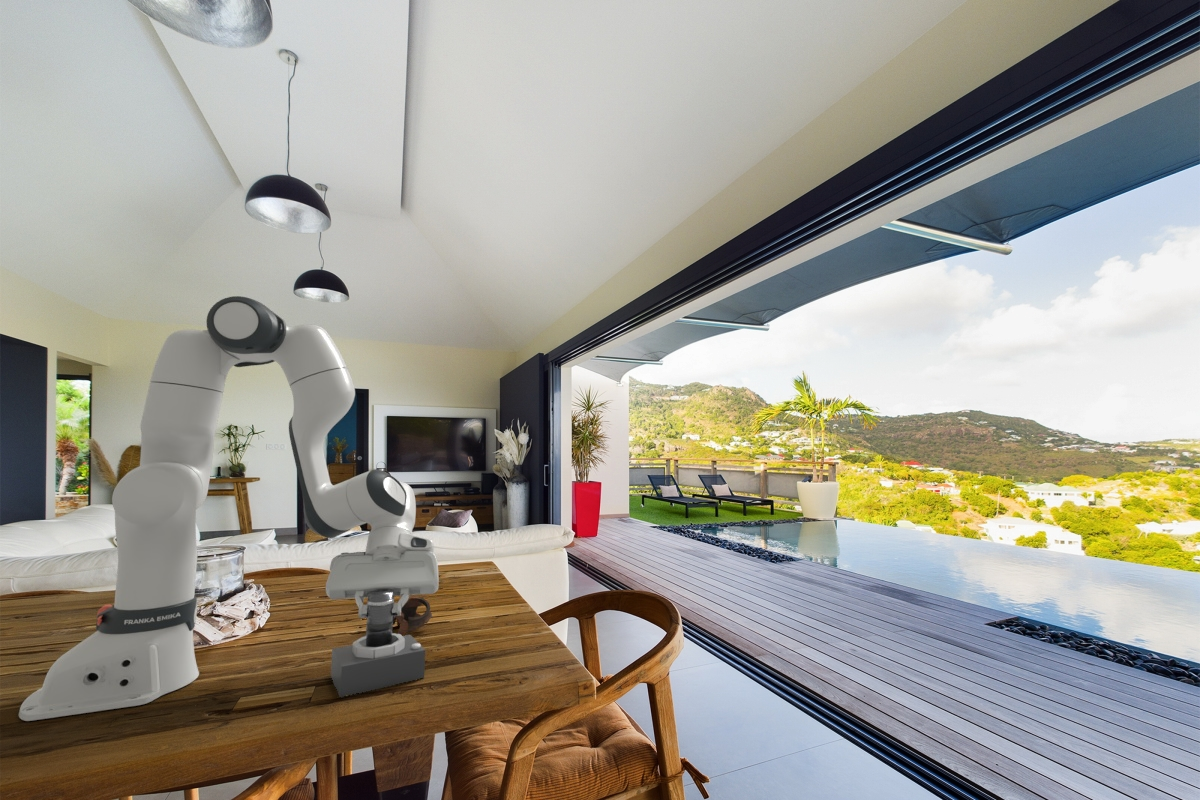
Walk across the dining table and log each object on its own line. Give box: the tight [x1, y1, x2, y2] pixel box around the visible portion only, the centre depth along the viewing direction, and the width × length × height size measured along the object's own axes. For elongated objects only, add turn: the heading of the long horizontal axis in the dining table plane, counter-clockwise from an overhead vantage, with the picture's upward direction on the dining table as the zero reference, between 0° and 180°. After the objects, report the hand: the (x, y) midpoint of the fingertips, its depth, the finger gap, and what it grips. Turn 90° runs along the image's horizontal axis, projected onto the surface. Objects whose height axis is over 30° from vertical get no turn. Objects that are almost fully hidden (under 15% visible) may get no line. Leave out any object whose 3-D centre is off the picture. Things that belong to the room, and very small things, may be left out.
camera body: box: [330, 632, 426, 698], centre depth 98 cm, size 14×10×6 cm
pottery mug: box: [393, 596, 433, 635], centre depth 124 cm, size 12×10×8 cm
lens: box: [365, 589, 395, 647], centre depth 98 cm, size 5×5×9 cm
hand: (379, 615), depth 98 cm, fingers closed on lens, 4 cm apart
